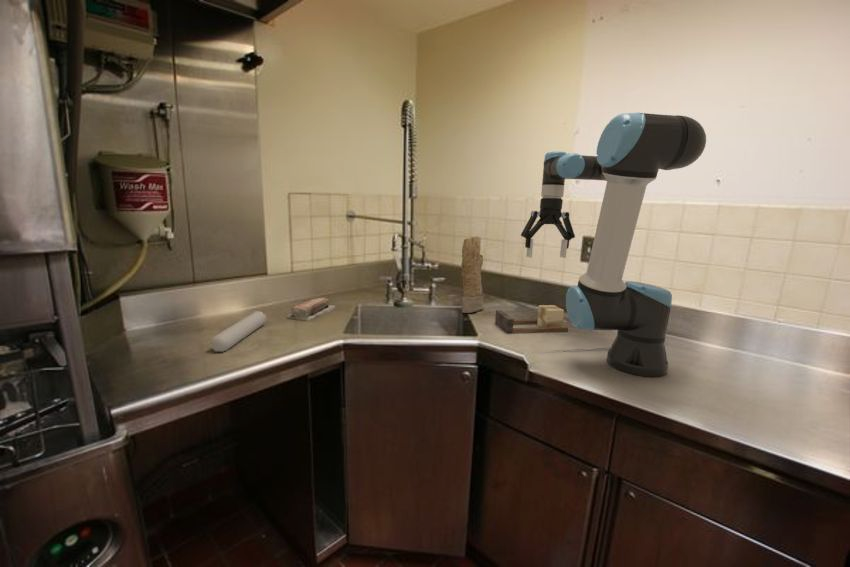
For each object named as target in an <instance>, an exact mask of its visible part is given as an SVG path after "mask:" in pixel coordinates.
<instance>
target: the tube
mask: <svg viewBox="0 0 850 567" xmlns="http://www.w3.org/2000/svg"><path fill="white" fill-rule="evenodd" d="M266 322H267V315H266V314H265V313H264V312H262V311H259V310H254V311H253V312H252V313H250V314H249V315H247V316H246V317H244V318H242V319H240V320H239V321H237V322H235V323H234V324H232V325H231V326H229V327H227V328H225V329H224V330H222V331H221V332H219V333H218V334H216V335H214V336H213V338H212V340H211V341H210V345H211V349H213V351H214V352H216V353H218V352H219V353H225V352H227V351H228V350H229V349H231V348H232V347H233V346H235V345H236V344H238V343H239V342H240V341H241V342H242V340H244V339H245V338H246V337H248V336H249V335H250V334H253V333H254V332H255V331H256V330H258V329H259V328H261V327H263V326H264V325H265V324H266ZM224 351H225V352H224Z"/></svg>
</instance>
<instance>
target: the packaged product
mask: <svg viewBox="0 0 850 567" xmlns="http://www.w3.org/2000/svg"><path fill="white" fill-rule="evenodd" d="M329 303H330V299H328V298H326V297H318V298H314V299H310V300H308V301H305V302H303V303H300V304H297V305H295V306H294V307H292V308H291V312H290V314H288V315H285V318H286V319H289V320H296V321H304V322H305V321H306V322H312V321H314V320H316V319H318V318H320V317H322V316H324V315H326V314H328V313H330V312H332V311H333V310H336V305H330V304H329Z"/></svg>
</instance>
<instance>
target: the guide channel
mask: <svg viewBox="0 0 850 567" xmlns="http://www.w3.org/2000/svg"><path fill="white" fill-rule="evenodd" d="M494 320H495V322H494V324H495V325H496V326H497V327H498V328H499V329H500V330H502V331H503V332H504V333H505V334H507V335H508V334H538V333H539V334H541V333H546V334H548V333H568V331H569V327H568V326H562V327H540V326H539V327H538V326H537V327H536V326H535V327H531V326H530V327H514V325H537V320H538V318H532V319H531V318H528V319H527V318H526V319H525V318H524V319H523V318H522V319H520V318H519V319H514V318H512V316H511V315H508V313H506V312H505V311H503V310H501V309H500V310H498V309H497V310H496V311H495V319H494Z"/></svg>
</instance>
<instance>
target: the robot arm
mask: <svg viewBox="0 0 850 567" xmlns="http://www.w3.org/2000/svg"><path fill="white" fill-rule="evenodd" d="M706 143H707V135H706V132H705V129H704V127H703V126H702V125H701V123H699V121H697V120H695V119H694V118H692V117H689V116H686V115H685V116H684V115H680V114H679V115H674V114H672V115H671V114H658V113H657V114H656V113H646V112H645V113H644V112H625V113H620V114H617V115H616V116H614V117H613V118H612V119H610V121H609V122H608V123H607V124H606V125H605V126H604V129H603V130H602V132H601V135H600V137H599V139H598V142H597V145H596V146H597V147H596V155H597V156H596V155H581V154H579V153H575V152H574V153H570V152H569V153H567V152H565V151H557V150H554V151H549V152H548V151H547V152H546V153H545V155H544V160H543V169H542V170H543V172H542V181H541V194H540V196H541V197H542V198H541V199H540V204H539V208H540V210H539V211H537V210H532V211H531V212H530V217H529V218H528V221H527V222H526V224H525V226H524V228H523V229H522V232H521V234H520V236H521V237H523V238H524V239H525V242H524V243H525V246H524V247H525V248H526V253H525V254H526V257H527V258H532V257H533V247H534V238H533V237H534V236H535V235H536V234H537V233H538V231H539V230H540V229H541V228H542V227H543V226H544V225H553V226H555V227H556V229H557V230H558V231H559V233H560V235H561V236H562V238H563V239H561V242H560V243H561V244H560V251H559V257H560V258H563V259H564V258H567V251H568V250H567V249H569V246H570V241H571V240H572V239H575V237H576V235H575V232H574V229H573V226H572V223H571V219H570V212H567V211H563V212H562V209H563V201H564V200H563V197H564V191H565V180H583V181H584V180H585V181H587V180H588V181H589V180H590V181H606V185H605V190H604V193H603V198H602V203H601V206H600V212H599V217H598V219H597V220H598V221H597V224H596V230H595V234H594V237H593V238H594V239H593V241H592V246H591V247H592V248H591V252H590V255H589V261H588V266H587V269H586V272H585V273H584V274H582V275H580V276H578V281H577V285H572V286H570V287H569V288H568V289H567V291H566V294H565V307H566V308H565V309H566V311H567V316H568V319H569V321H570V323H571V324H572V325H573V327H575V328H576V329H579V330H588V331H617V332H616V336H615V338H614V341H613V342H612V344H611V346H610V348H609V349H608V351H607V354H606V363H608V364H609V366H612V367H613V368H614V369H617V370H618V371H620V372H621V371H622V372H624V373H628V374H632V375H636V376H640V377H641V376H642V377H649V378H650V377H651V378H653V377H654V378H655V377H662V376H665V375H667V373H668V368H669V362H668V360H667V359H668V357H667V352H666V345H665V341H666V336H667V332H668V331H667V330H668V324H669V319H670V313H671V309H672V308H673V307H672V301H673V294H672V292H671V291H670V290H668V289H666V288H663V287H660V286H658V285H657V286H656V285H652V284H647V283H644V282H639V281H638V282H637V281H632V280H630V281H629V280H628V281H625V282H624V281H623V277H624V272H625V269H626V265H627V261H628V259H629V258H628V256H629V253H630V250H631V248H632V244H633V243H632V241H633V238H634V235H635V232H636V231H635V230H636V227H637V223H638V221H639V220H638V219H639V215H640V212H641V207H642V205H643V201H644V197H645V193H646V189H647V186H648V185H649V184H650V183H651V182H653V181H655V180H656V179H657V176H658V172H659V170H662V171H671V170H677V169H683V168H686V167H688V166H690V165H692V164H693V163H694V162H696V161H697V160H698V159H699V158H700V157H701V156H702V154H703V152H704V151H705V148H706V145H707V144H706ZM538 217H539V219H538V220H537V218H538ZM561 218H562V221H563V222H562V221H561ZM536 221H537V222H536ZM535 222H536V223H535Z"/></svg>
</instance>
